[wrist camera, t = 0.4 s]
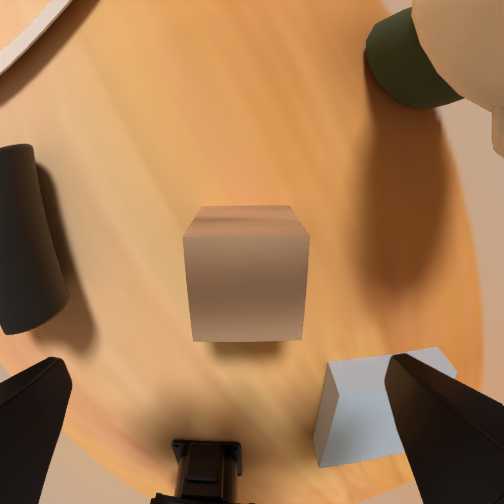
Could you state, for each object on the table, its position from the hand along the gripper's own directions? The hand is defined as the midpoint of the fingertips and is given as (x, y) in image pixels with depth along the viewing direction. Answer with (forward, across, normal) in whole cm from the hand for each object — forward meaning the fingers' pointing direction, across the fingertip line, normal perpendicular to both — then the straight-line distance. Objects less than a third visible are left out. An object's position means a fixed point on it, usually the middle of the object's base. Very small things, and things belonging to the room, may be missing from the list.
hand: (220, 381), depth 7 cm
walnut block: (+12, -1, 0) cm, 12 cm away
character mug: (+12, -11, -12) cm, 20 cm away
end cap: (+12, +14, -2) cm, 19 cm away
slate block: (+12, -12, +14) cm, 22 cm away
